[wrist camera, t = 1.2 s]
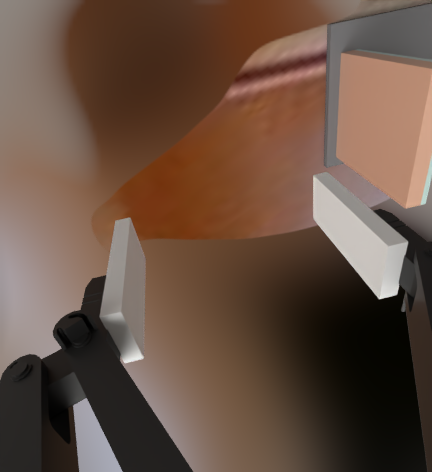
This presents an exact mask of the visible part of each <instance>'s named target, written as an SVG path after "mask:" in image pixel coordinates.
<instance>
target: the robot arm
mask: <svg viewBox="0 0 432 472" xmlns="http://www.w3.org/2000/svg"><path fill="white" fill-rule="evenodd" d="M313 219H314V220H315V221H316V223H317V224H318V225H319V226H320V227H321V229H322V230H323V231H324V232H325V233H326V235H327V236H328V237H329V238H330V240H331V241H332V242H333V243H334V245H335V246H336V247H337V248H338V249H339V251H340V252H341V253H342V254H343V255H344V256H345V258H346V259H347V260H348V262H349V263H350V264H351V265H352V266H353V268H354V269H355V270H356V271H357V272H358V273H359V275H360V276H361V277H362V279H363V280H364V281H365V282H366V283H367V285H368V286H369V287H370V288H371V290H372V291H373V292H374V293H375V294H376V296H377V297H378V298H379V299H382V298H386V297H390V296H394V295H397V292H398V287H399V284H400V285H401V286H402V287H403V288H404V289H405V290H406V293H405V297H404V302H403V306H402V311H403V312H404V311H405V308H406V314H407V321H408V329H409V336H410V344H411V351H412V358H413V366H414V373H415V381H416V388H417V396H418V402H419V411H420V418H421V426H422V432H423V441H424V448H425V455H426V463H427V471H428V472H432V242H427V241H426V240H424V239H423V238H422V237H421V236H419V235H418V234H417V233H416V232H414V231H413V230H412V229H411V228H409V227H408V226H406V224H404V223H403V222H402V221H400V220H399V219H398V218H397V217H396V216H394V215H393V214H392V213H389V212H387V211H385V210H382V209H378V210H375V211H372V210H371V209H370V208H369V207H367V206H366V205H365V204H364V203H363V202H362V201H360V200H359V199H358V198H357V197H356V196H355V195H353V194H352V193H351V192H350V191H349V190H348V189H346V188H345V187H344V186H343V185H342V184H341V183H340V182H338V181H337V180H336V179H335V178H334V177H333V176H331V175H330V174H329V173H328V172H325V173H320V174H316V175H313ZM144 316H145V256H144V253H143V251H142V248H141V245H140V242H139V240H138V237H137V234H136V232H135V229H134V226H133V224H132V221H131V218H126V219H122V220H117V221H115V227H114V233H113V239H112V245H111V251H110V257H109V263H108V269H107V275H105V276H101V277H97V278H93V279H92V280H91V281H90V282H89V284H88V285H87V287H86V289H85V293H84V298H83V302H82V306H81V310H79V311H74V312H71V313H69V314H67V315H66V316H64V317H63V318H61V319H60V320H59V321H58V323H57V324H56V325H55V327H54V330H53V336H54V338H55V339H56V341H57V342H58V343H59V345H60V346H61V348H62V349H60V350H58V351H57V352H55V353H53V354H51V355H49V356H47V357H45V358H43V359H40V357H38V356H37V355H31V354H29V355H26V356H22V357H20V358H19V359H17V360H15V361H14V362H13V363H11V364H10V365H9V366H8V367H7V369H6V370H5V371H4V373H3V374H2V377H1V380H0V472H79V466H78V456H77V445H76V433H75V422H74V411H73V405H74V404H76V403H78V402H80V401H81V400H83V399H85V398H87V399H88V401H89V403H90V405H91V407H92V410H93V412H94V414H95V416H96V418H97V419H98V422H99V424H100V426H101V428H102V430H103V432H104V434H105V436H106V438H107V440H108V442H109V444H110V446H111V448H112V451H113V453H114V454H115V457H116V459H117V461H118V463H119V465H120V467H121V469H122V471H123V472H193V471H192V469H191V468H190V466H189V465H188V463H187V462H186V460H185V459H184V457H183V456H182V454H181V453H180V451H179V450H178V448H177V447H176V445H175V443H174V442H173V440H172V439H171V438H170V436H169V434H168V433H167V432H166V430H165V428H164V427H163V425H162V424H161V422H160V421H159V419H158V418H157V416H156V415H155V413H154V412H153V410H152V409H151V407H150V406H149V405H148V403H147V401H146V400H145V398H144V397H143V395H142V394H141V392H140V391H139V389H138V388H137V386H136V385H135V383H134V381H133V380H132V379H131V377H130V375H129V374H128V372H127V371H126V369H125V368H124V366H123V365H122V364H121V362H120V355H121V357H122V359H123V361H124V363H127V362H132V361H136V360H140V359H143V358H144Z"/></svg>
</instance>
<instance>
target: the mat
mask: <svg viewBox="0 0 432 472" xmlns="http://www.w3.org/2000/svg"><path fill="white" fill-rule="evenodd" d="M357 49H362V50H368V51H375V52H382V53H389V54H396V55H403V56H410V57H417V58H424V59H430V60H432V3H429V4H424V5H419V6H414V7H409V8H405V9H400V10H395V11H390V12H385V13H381V14H376V15H371V16H366V17H361V18H357V19H352V20H347V21H342V22H337V23H333V24H328V27H327V65H326V103H325V141H324V166H325V167H326V168H327V167H331V166H336V165H340V164H344V163H343V162H342V161H341V160H339V159H338V158H337V157H336V147H337V126H338V106H339V85H340V64H341V53H342V52H347V51H352V50H357Z"/></svg>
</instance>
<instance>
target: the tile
mask: <svg viewBox="0 0 432 472" xmlns="http://www.w3.org/2000/svg"><path fill="white" fill-rule="evenodd" d="M336 157H337V158H338V159H339V160H341V161H342V162H343V163H345V164H346V165H347V166H349V167H350V168H351V169H353V170H354V171H356V172H357V173H358V174H360V175H361V176H362V177H364V178H365V179H366V180H368V181H369V182H370V183H372V184H373V185H374V186H376V187H377V188H378V189H380V190H381V191H382V192H384V193H385V194H387V195H388V196H389V197H391V198H392V199H393V200H395V201H396V202H397V203H399V204H400V205H401V206H403V207H404V208H410V207H414V206H418V205H423V204H425V203H426V199H427V195H428V191H429V186H430V182H431V178H432V60H430V59H424V58H417V57H410V56H403V55H396V54H389V53H382V52H375V51H368V50H362V49H357V50H352V51H347V52H342V53H341V64H340V85H339V106H338V126H337V147H336Z"/></svg>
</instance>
